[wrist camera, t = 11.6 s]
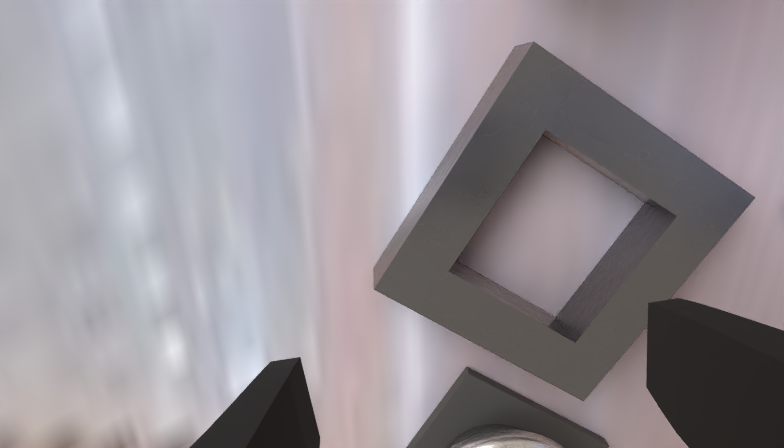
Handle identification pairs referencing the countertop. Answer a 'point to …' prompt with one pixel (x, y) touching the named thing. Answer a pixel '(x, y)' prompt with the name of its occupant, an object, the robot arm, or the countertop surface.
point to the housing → (614, 271)
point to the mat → (496, 415)
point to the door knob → (501, 438)
